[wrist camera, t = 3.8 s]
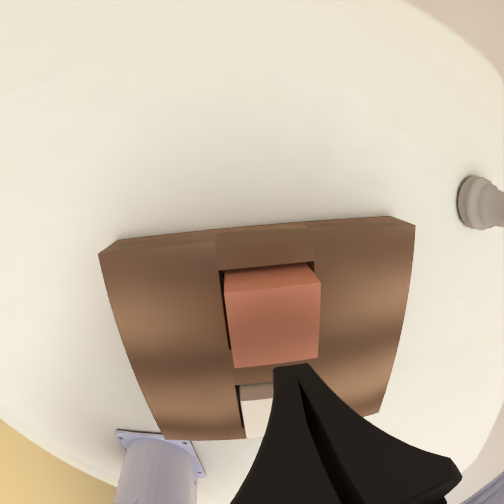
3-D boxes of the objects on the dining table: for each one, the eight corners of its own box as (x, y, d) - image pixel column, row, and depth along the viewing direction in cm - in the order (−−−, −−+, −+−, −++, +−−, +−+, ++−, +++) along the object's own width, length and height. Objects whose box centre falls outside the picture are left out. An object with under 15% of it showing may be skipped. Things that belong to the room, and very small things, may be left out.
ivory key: (297, 398, 20) (307, 430, 17) (243, 405, 20) (246, 438, 17) (299, 359, 19) (310, 392, 16) (238, 366, 19) (240, 401, 15)
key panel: (366, 390, 22) (378, 412, 19) (169, 414, 21) (165, 439, 18) (390, 216, 17) (415, 225, 14) (117, 240, 16) (97, 254, 13)
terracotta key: (302, 324, 17) (317, 357, 14) (233, 332, 17) (234, 368, 14) (302, 258, 16) (320, 282, 12) (225, 266, 16) (224, 292, 12)
